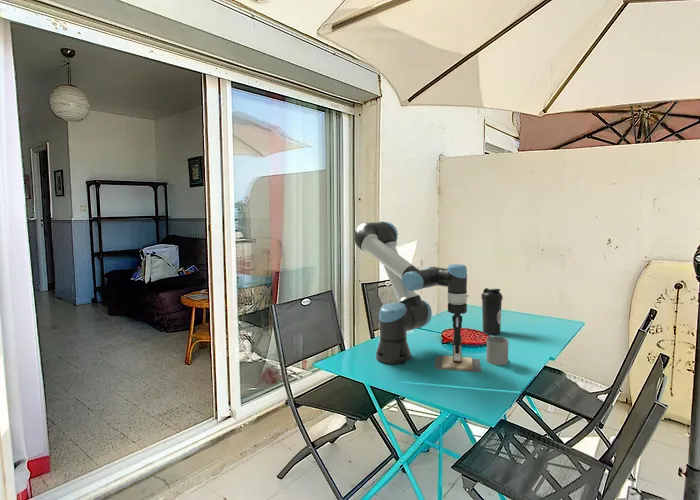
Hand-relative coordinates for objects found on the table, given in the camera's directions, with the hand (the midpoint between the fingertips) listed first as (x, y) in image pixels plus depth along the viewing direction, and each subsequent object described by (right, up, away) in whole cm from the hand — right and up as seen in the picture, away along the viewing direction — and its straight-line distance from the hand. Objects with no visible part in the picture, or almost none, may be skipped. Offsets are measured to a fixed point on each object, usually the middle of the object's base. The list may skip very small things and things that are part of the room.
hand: (457, 358), depth 164 cm
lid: (0, -2, 0) cm, 2 cm away
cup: (+17, -3, +2) cm, 17 cm away
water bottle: (+29, +2, +42) cm, 51 cm away
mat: (0, -3, 0) cm, 3 cm away
